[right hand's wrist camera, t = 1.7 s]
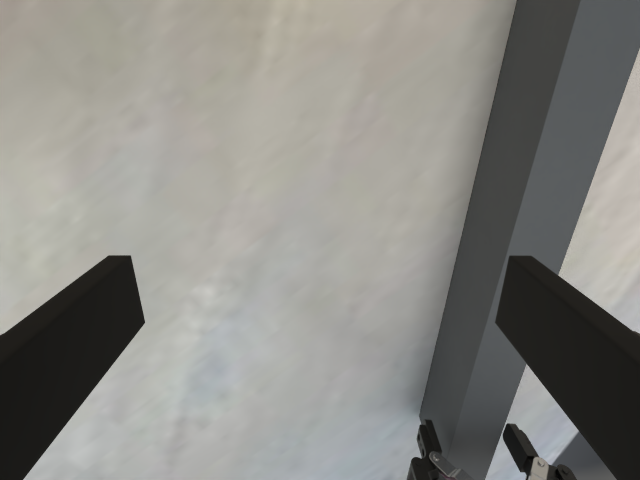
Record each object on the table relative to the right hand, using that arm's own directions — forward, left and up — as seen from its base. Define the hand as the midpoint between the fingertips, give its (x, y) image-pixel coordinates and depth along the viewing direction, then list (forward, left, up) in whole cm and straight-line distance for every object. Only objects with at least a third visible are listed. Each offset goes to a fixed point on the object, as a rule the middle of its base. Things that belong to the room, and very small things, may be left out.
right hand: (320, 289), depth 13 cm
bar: (+2, +17, -22) cm, 27 cm away
